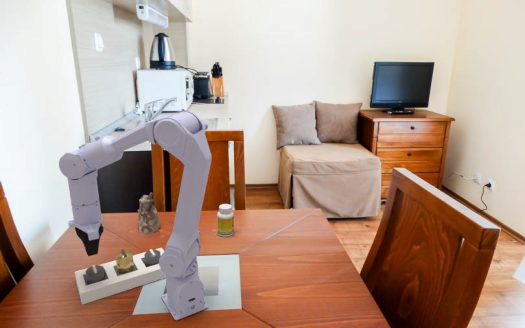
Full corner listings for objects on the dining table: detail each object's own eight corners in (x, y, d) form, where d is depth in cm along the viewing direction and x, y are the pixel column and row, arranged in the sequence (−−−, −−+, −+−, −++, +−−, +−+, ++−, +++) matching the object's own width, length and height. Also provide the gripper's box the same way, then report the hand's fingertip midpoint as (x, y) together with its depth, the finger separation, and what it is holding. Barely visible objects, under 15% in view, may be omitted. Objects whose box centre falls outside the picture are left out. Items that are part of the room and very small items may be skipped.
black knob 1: (107, 287, 86) (105, 269, 84) (89, 293, 83) (86, 275, 82) (103, 279, 89) (101, 261, 87) (86, 284, 87) (84, 266, 85)
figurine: (133, 229, 115) (130, 195, 111) (150, 221, 121) (147, 189, 117) (148, 235, 111) (145, 201, 108) (164, 227, 117) (162, 193, 114)
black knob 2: (163, 269, 93) (162, 253, 92) (148, 274, 91) (146, 257, 90) (158, 262, 96) (157, 246, 95) (143, 267, 94) (142, 250, 93)
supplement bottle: (216, 230, 116) (216, 203, 113) (232, 228, 117) (232, 202, 114) (218, 238, 111) (217, 210, 108) (234, 236, 112) (234, 209, 109)
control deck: (174, 274, 92) (174, 264, 91) (82, 304, 80) (80, 293, 79) (162, 256, 100) (161, 247, 99) (76, 281, 88) (74, 271, 87)
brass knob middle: (135, 271, 89) (134, 253, 87) (119, 276, 87) (117, 258, 85) (131, 263, 92) (130, 246, 90) (115, 268, 90) (113, 251, 88)
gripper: (62, 194, 83) (70, 245, 87) (69, 217, 72) (78, 274, 76) (94, 188, 87) (100, 237, 91) (106, 209, 75) (112, 264, 79)
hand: (92, 253), depth 83 cm, fingers closed
